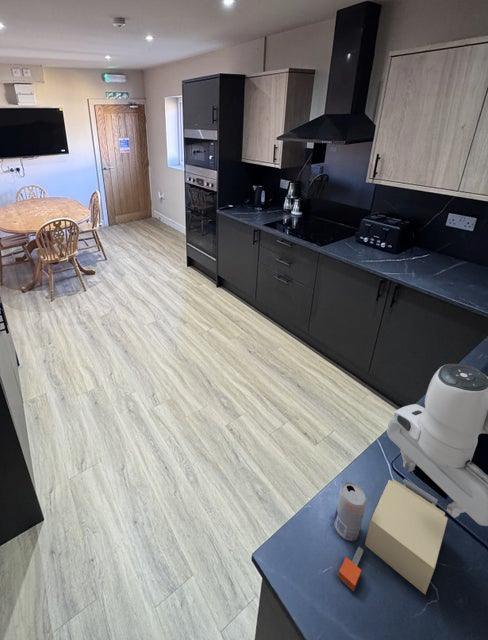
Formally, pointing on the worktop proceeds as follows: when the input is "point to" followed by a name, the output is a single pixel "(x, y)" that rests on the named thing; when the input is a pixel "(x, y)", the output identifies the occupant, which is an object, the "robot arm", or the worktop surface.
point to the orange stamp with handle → (351, 570)
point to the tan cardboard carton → (406, 535)
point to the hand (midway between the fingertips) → (429, 489)
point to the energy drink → (349, 511)
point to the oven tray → (419, 494)
